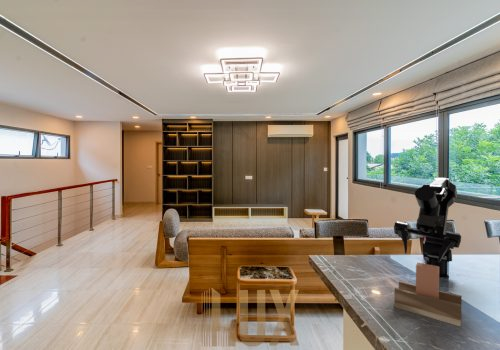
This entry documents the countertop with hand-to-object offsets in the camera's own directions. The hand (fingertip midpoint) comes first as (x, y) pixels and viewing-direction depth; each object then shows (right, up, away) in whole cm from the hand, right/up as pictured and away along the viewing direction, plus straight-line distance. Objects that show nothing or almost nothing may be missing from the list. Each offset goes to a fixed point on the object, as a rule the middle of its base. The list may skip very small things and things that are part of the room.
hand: (421, 257), depth 87 cm
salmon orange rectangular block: (-3, -12, -8) cm, 15 cm away
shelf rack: (-3, -13, -8) cm, 16 cm away
